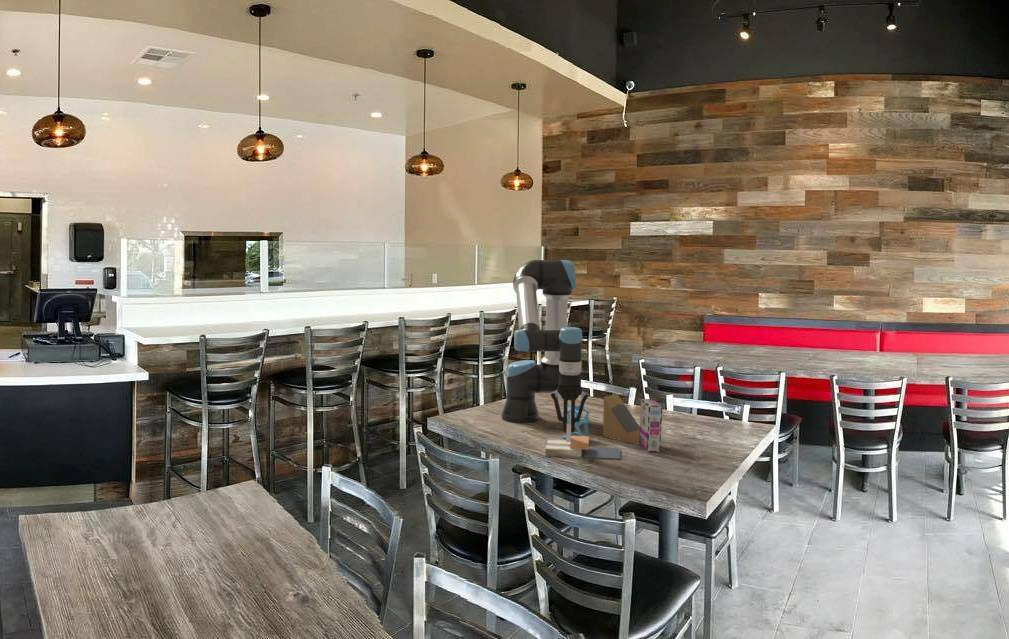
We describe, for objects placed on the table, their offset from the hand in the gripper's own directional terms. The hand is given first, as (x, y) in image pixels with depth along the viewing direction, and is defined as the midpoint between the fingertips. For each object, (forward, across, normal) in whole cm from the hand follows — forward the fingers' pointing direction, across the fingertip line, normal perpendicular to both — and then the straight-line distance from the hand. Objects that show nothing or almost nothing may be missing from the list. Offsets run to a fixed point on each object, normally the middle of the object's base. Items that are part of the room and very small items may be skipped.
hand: (568, 441), depth 237 cm
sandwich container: (+4, +20, +22) cm, 30 cm away
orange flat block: (+1, +4, 0) cm, 4 cm away
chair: (+4, +2, +17) cm, 18 cm away
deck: (+4, -2, 0) cm, 4 cm away
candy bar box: (+4, +28, +10) cm, 30 cm away
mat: (+4, +12, 0) cm, 12 cm away
